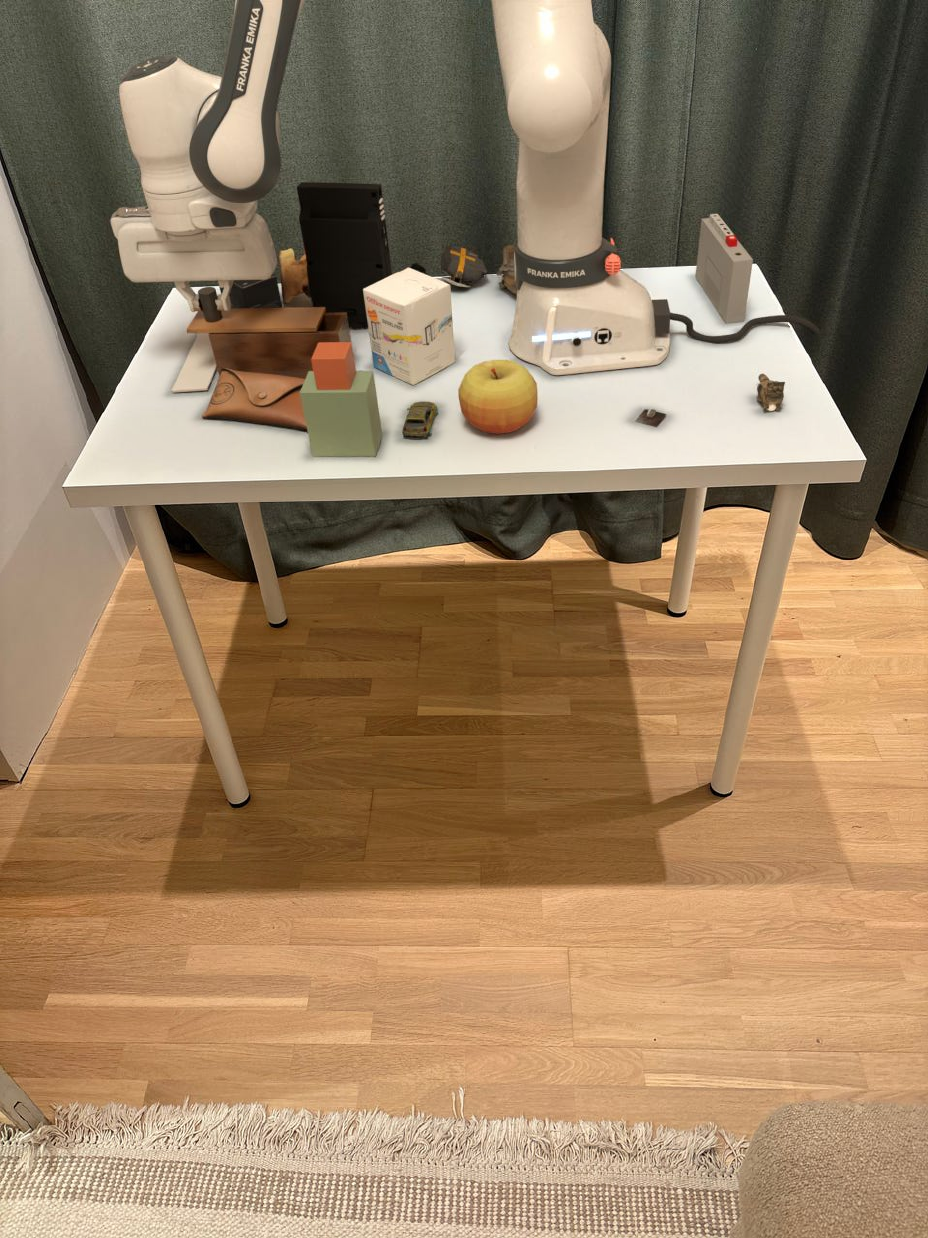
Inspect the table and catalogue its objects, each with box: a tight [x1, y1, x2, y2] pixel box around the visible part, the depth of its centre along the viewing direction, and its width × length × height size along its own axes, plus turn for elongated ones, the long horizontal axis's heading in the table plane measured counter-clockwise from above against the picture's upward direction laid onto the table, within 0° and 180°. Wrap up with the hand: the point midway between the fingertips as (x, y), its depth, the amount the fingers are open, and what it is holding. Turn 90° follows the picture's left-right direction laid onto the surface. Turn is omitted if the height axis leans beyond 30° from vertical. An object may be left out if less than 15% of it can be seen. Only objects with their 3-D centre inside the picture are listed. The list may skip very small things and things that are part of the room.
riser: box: [300, 370, 383, 457], centre depth 117 cm, size 8×5×9 cm, turn 84°
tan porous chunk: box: [278, 245, 311, 305], centre depth 149 cm, size 12×10×8 cm
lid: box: [185, 286, 326, 334], centre depth 129 cm, size 18×6×5 cm, turn 84°
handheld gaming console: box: [296, 181, 393, 330], centre depth 137 cm, size 12×5×20 cm, turn 76°
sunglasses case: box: [201, 368, 307, 431], centre depth 126 cm, size 18×7×7 cm
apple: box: [458, 359, 539, 435], centre depth 119 cm, size 10×10×8 cm
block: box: [311, 341, 357, 390], centre depth 113 cm, size 4×4×4 cm
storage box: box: [208, 312, 352, 379], centre depth 133 cm, size 18×6×7 cm, turn 84°
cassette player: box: [694, 213, 754, 324], centre depth 139 cm, size 16×3×10 cm, turn 6°
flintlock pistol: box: [495, 244, 517, 296], centre depth 150 cm, size 19×4×10 cm
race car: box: [401, 400, 439, 440], centre depth 122 cm, size 4×8×2 cm, turn 172°
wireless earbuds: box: [398, 262, 430, 276], centre depth 153 cm, size 7×2×5 cm
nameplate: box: [171, 333, 218, 393], centre depth 140 cm, size 22×1×5 cm
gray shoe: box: [439, 245, 489, 288], centre depth 153 cm, size 7×15×4 cm, turn 176°
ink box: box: [363, 267, 456, 386], centre depth 130 cm, size 9×8×12 cm
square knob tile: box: [635, 408, 667, 428], centre depth 119 cm, size 3×3×1 cm
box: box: [217, 273, 284, 309], centre depth 138 cm, size 8×6×11 cm
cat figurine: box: [756, 373, 786, 412], centre depth 120 cm, size 3×8×4 cm, turn 0°
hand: (211, 309), depth 130 cm, fingers closed on lid, 2 cm apart
